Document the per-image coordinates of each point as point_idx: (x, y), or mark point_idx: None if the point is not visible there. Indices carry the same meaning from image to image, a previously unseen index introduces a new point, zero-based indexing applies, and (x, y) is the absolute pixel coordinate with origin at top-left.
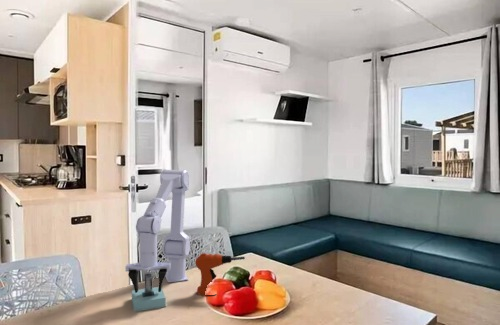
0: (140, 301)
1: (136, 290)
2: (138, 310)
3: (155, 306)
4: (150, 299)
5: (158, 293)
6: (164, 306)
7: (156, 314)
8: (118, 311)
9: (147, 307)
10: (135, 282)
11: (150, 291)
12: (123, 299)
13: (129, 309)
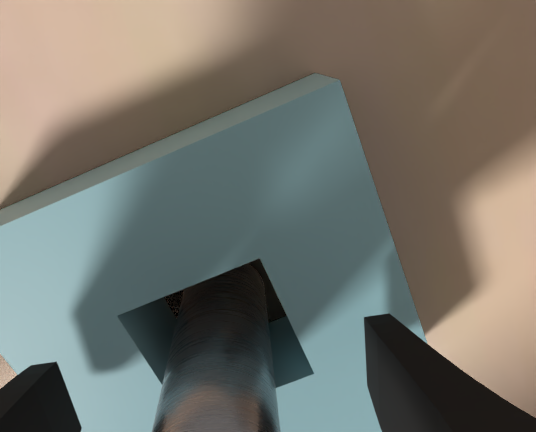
0: (250, 120)
1: (381, 330)
2: (267, 95)
3: (86, 173)
4: (123, 191)
5: (92, 370)
6: (3, 210)
7: (9, 4)
8: (490, 71)
9: (171, 138)
10: (462, 423)
11: (176, 357)
12: (487, 333)
13: (379, 126)
